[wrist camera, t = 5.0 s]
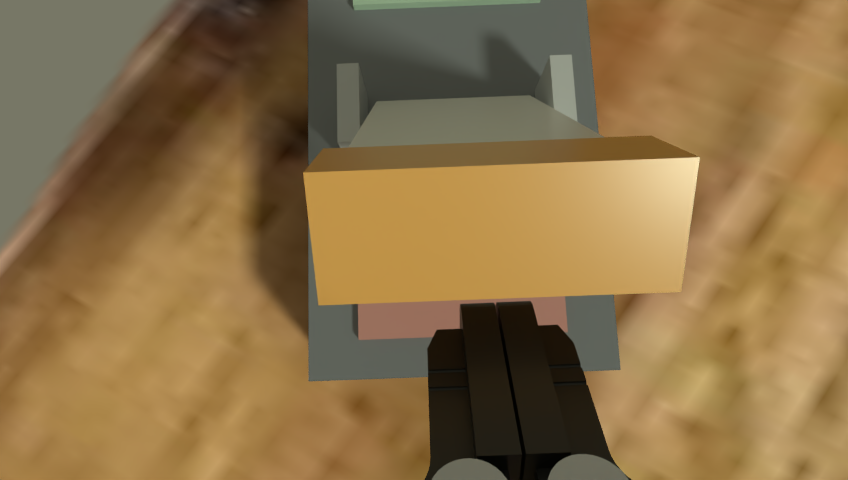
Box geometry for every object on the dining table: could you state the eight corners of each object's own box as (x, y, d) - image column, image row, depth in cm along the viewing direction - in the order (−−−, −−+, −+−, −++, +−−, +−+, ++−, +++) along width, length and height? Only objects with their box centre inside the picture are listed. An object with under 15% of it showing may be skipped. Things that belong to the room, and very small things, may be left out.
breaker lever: (371, 89, 22) (302, 172, 9) (532, 83, 22) (699, 156, 9) (376, 149, 23) (318, 305, 10) (530, 143, 23) (681, 292, 10)
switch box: (331, -1, 31) (291, -137, 22) (549, -10, 31) (597, -150, 22) (335, 370, 27) (289, 389, 18) (579, 361, 27) (651, 375, 18)
